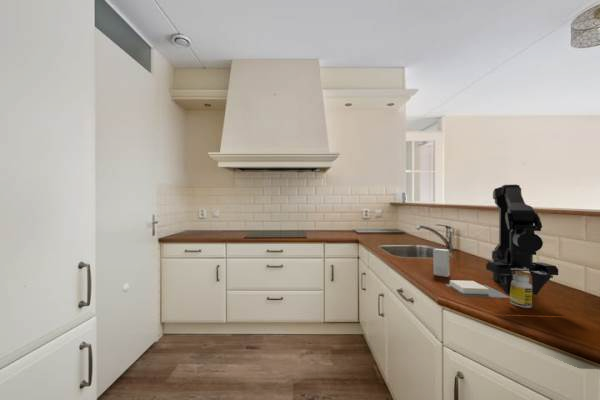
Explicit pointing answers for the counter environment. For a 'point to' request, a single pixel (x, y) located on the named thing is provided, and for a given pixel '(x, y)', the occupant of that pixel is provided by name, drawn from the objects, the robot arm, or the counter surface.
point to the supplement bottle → (521, 291)
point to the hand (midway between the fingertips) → (520, 294)
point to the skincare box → (441, 262)
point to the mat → (491, 294)
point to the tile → (469, 287)
